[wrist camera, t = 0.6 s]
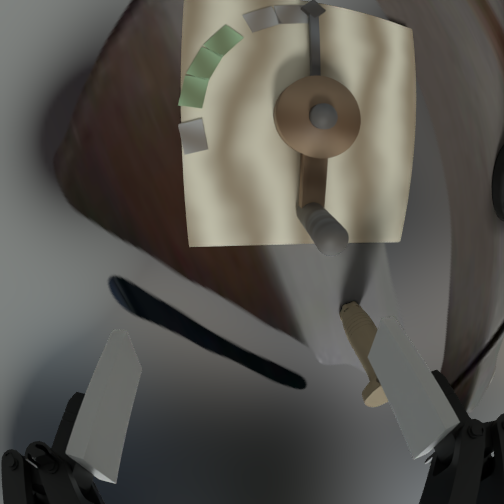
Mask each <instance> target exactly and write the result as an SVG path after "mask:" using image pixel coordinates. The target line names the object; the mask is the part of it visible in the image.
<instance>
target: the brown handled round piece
mask: <svg viewBox="0 0 504 504" xmlns="http://www.w3.org/2000/svg"><path fill="white" fill-rule="evenodd" d="M300 10H302V11H303V12H304V13H305V14H306V15H307V16H308V21H309V51H310V76H308V77H304V78H301V79H299V80H297V81H295V82H294V83H292V84H291V85H289V86H288V87H287V88H285V89H284V90H283V91H282V92H281V94H280V95H279V97H278V98H277V100H276V103H275V106H274V112H273V118H274V124H275V128H276V130H277V132H278V134H279V136H280V137H281V139H282V140H283V141H284V142H285V143H286V144H287V145H288V146H289V147H290V148H292V149H293V150H295V151H297V152H299V153H301V165H300V188H299V205H298V207H297V210H296V214H297V217H298V219H299V220H300V222H301V223H302V225H303V226H304V228H305V229H306V231H307V232H308V234H309V236H310V237H311V239H312V240H313V242H314V243H315V245H316V246H317V248H318V249H319V251H320V252H321V253H322V254H324V255H326V256H335V255H338V254H340V253H341V252H343V251H344V250H345V248H346V247H347V245H348V241H349V235H348V232H347V230H346V229H345V228H344V227H343V226H342V225H341V224H340V223H339V222H338V221H337V220H336V219H335V218H334V217H333V216H332V215H331V214H330V213H329V212H328V211H327V210H326V209H325V208H324V207H325V195H326V181H327V166H328V158H331V157H335V156H338V155H340V154H342V153H343V152H345V151H346V150H347V149H349V148H350V147H351V145H352V144H353V143H354V141H355V140H356V138H357V136H358V133H359V130H360V125H361V115H360V109H359V106H358V103H357V101H356V99H355V98H354V96H353V94H352V93H351V92H350V91H349V90H348V89H347V88H346V87H345V86H344V85H343V84H341V83H340V82H338V81H336V80H334V79H332V78H329V77H325V76H321V61H320V30H319V16H320V15H321V14H323V13H324V12H325V11H326V10H325V9H324V8H323V7H322V6H321V5H319V4H318V3H317V2H316V1H315V0H312V1H310V2H308V3H307V4H305V5H304V6H302V7H301V8H300Z"/></svg>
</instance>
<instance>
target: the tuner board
mask: <svg viewBox="0 0 504 504" xmlns="http://www.w3.org/2000/svg"><path fill="white" fill-rule="evenodd" d="M307 3H308V1H301V0H184V10H183V26H182V50H181V95H180V99H179V104H178V105H179V106H181V124H179V125H178V126H179V131H180V136H181V140H182V158H183V176H184V192H185V206H186V218H187V229H188V240H189V247H202V246H238V245H276V244H315V243H314V242H313V240H312V239H311V237H310V236H309V234H308V232H307V231H306V229H305V228H304V226H303V225H302V223H301V222H300V220H299V219H298V217H297V214H296V210H297V207H298V205H299V188H300V165H301V153H299V152H297V151H295V150H293V149H292V148H290V147H289V146H288V145H287V144H286V143H285V142H284V141H283V140H282V139H281V137H280V136H279V134H278V132H277V130H276V128H275V124H274V118H273V112H274V106H275V103H276V100H277V98H278V97H279V95H280V94H281V92H282V91H283V90H284V89H285V88H287V87H288V86H289V85H291V84H292V83H294V82H295V81H297V80H299V79H301V78H304V77H308V76H310V51H309V21H308V16H307V15H306V14H305V13H304V12H303V11H302V10H300V8H301V7H302V6H304V5H305V4H307ZM318 4H319V5H321V6H322V7H323V8H324V9H325V10H326V11H325V12H324V13H323V14H321V15H320V16H319V30H320V61H321V76H325V77H329V78H332V79H334V80H336V81H338V82H340V83H341V84H343V85H344V86H345V87H346V88H347V89H348V90H349V91H350V92H351V93H352V94H353V96H354V98H355V99H356V101H357V103H358V106H359V109H360V115H361V125H360V130H359V133H358V136H357V138H356V140H355V141H354V143H353V144H352V145H351V147H350V148H349V149H347V150H346V151H345V152H343V153H342V154H340V155H338V156H335V157H331V158H328V166H327V181H326V195H325V207H324V208H325V209H326V210H327V211H328V212H329V213H330V214H331V215H332V216H333V217H334V218H335V219H336V220H337V221H338V222H339V223H340V224H341V225H342V226H343V227H344V228H345V229H346V230H347V232H348V235H349V241H348V243H371V242H400V240H401V235H402V230H403V224H404V219H405V214H406V208H407V201H408V195H409V188H410V181H411V173H412V163H413V153H414V140H415V120H416V74H415V56H414V44H413V34H412V29H410V28H407V27H404V26H402V25H399V24H396V23H393V22H391V21H388V20H384V19H381V18H378V17H375V16H372V15H368V14H364V13H361V12H357V11H353V10H349V9H345V8H341V7H336V6H331V5H326V4H320V3H318Z"/></svg>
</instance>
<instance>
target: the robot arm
mask: <svg viewBox="0 0 504 504" xmlns="http://www.w3.org/2000/svg"><path fill="white" fill-rule="evenodd" d="M492 195H493V204H494V208H495V211H496V214H497V215H498V217H499V218H500V219H501V220H503V221H504V146H503V147H502V149H501V151H500V153H499V155H498V158H497V161H496V164H495V169H494V175H493V185H492ZM368 359H369V361H370V363H371V365H372V367H373V369H374V371H375V374H376V376H377V378H378V380H379V382H380V384H381V386H382V388H383V391H384V393H385V395H386V397H387V399H388V401H389V404H390V406H391V408H392V410H393V413H394V415H395V417H396V419H397V422H398V424H399V426H400V429H401V431H402V433H403V436H404V438H405V440H406V443H407V445H408V447H409V450H410V453H411V455H412V458H413V459H416V458H418V457H421V456H423V455H425V454H427V453H428V452H429V451H431V450H432V449H433V448H434V449H435V452H434V453H433V454H432V455H431V456H429V457H428V458H427V459H426V461H425V464H427V463H428V462H429V461H430V460H432V461H431V462H430V469H429V473H428V477H427V480H426V483H425V487H424V490H423V493H422V496H421V499H420V502H419V504H504V414H501V415H500V416H499V417H498V418H497V420H496V421H491V422H486V423H482V422H480V421H479V420H476V419H471V418H470V417H469V416H468V414H467V412H466V411H465V409H464V407H463V405H462V404H461V402H460V400H459V399H458V397H457V395H456V394H455V393H454V390H453V389H452V387H450V384H449V382H448V381H447V379H446V377H445V376H444V375H443V374H441V373H440V372H439V371H438V370H435V371H432V372H431V371H430V370H429V368H428V366H427V365H426V363H425V362H424V360H423V359H422V357H421V355H420V354H419V352H418V351H417V349H416V348H415V346H414V345H413V343H412V342H411V340H410V339H409V337H408V336H407V335H406V333H405V331H404V330H403V328H402V327H401V326H400V324H399V323H398V321H397V320H396V318H395V317H394V316H393V317H387V318H381V321H380V324H379V327H378V330H377V333H376V336H375V338H374V341H373V344H372V347H371V349H370V352H369V355H368ZM141 372H142V367H141V365H140V362H139V360H138V358H137V355H136V352H135V350H134V347H133V345H132V342H131V339H130V337H129V334H128V331H127V330H113V331H112V333H111V335H110V337H109V339H108V341H107V344H106V346H105V348H104V350H103V353H102V355H101V357H100V359H99V362H98V364H97V367H96V369H95V371H94V374H93V376H92V379H91V381H90V384H89V386H88V389H87V391H86V394H83V393H79V392H76V393H75V394H74V395H73V396H72V398H71V399H70V400H69V402H68V404H67V407H66V409H65V412H64V415H63V417H62V420H61V422H60V425H59V428H58V431H57V434H56V436H55V439H54V443H53V446H52V448H50V447H49V446H48V445H46V444H45V443H43V442H40V441H37V442H33V443H31V444H30V445H29V446H28V447H27V449H26V452H25V456H22V455H21V454H20V453H19V452H17V451H16V450H12V449H11V450H7V451H6V452H5V453H4V455H3V456H2V488H3V500H4V504H105V503H104V501H103V499H102V497H101V495H100V493H99V491H98V489H97V487H96V485H95V483H94V482H93V475H94V476H95V477H97V478H98V479H100V480H104V481H108V482H111V483H115V484H116V481H117V476H118V470H119V465H120V459H121V455H122V450H123V445H124V440H125V436H126V431H127V427H128V422H129V418H130V414H131V410H132V406H133V401H134V398H135V394H136V390H137V387H138V383H139V379H140V376H141ZM493 451H494V457H492V456H491V453H492V452H493Z"/></svg>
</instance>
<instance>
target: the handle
mask: <svg viewBox="0 0 504 504" xmlns="http://www.w3.org/2000/svg"><path fill="white" fill-rule="evenodd" d="M339 315H340V318H341V320H342V323H343V327H344V330H345V333H346V335H347V338H348V340H349V342H350V344H351V346H352V348H353V349H354V351H355V353H356V355H357V356H358V358H359V360H360V362H361V363H362V365H363V367H364V369H365V371H366V373H367V375H368V377H369V380H370V382H369V384H368V385H367V386H366V388H365V389H364V390H363V392H362V397H363V400H364V403H365V404H366V405H367V406H369V407H377V406H380V405H382V404H384V403H386V402H388V399H387V397H386V395H385V393H384V391H383V388H382V386H381V384H380V382H379V380H378V378H377V376H376V374H375V371H374V369H373V367H372V365H371V363H370V361H369V359H368V355H369V352H370V349H371V347H372V344H373V341H374V338H375V336H376V333H377V328H376V326H375V324H374V323H373V321H372V320H371V318H370V317H369V316H368V314H367V313H366V312H365V311H364V310H363V309H362V308H361V306H359V305H358V304H357V303H356V302H354V301H353V302H351V303H349V304H344V305H343V306H342V310H341V312H340V313H339Z"/></svg>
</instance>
